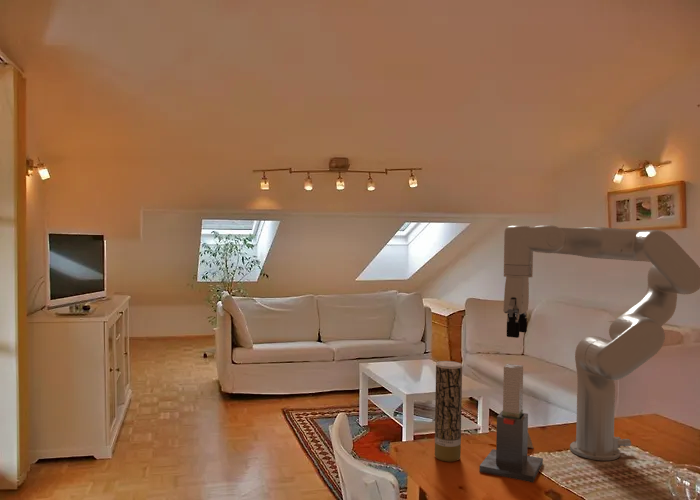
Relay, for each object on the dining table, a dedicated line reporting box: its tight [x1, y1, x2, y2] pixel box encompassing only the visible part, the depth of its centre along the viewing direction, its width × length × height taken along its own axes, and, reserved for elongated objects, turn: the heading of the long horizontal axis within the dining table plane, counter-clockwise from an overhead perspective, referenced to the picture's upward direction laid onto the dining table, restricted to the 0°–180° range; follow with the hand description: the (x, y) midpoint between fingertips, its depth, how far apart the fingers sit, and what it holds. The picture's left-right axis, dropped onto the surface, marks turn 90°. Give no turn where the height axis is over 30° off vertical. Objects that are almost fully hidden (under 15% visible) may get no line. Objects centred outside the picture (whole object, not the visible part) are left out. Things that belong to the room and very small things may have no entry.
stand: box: [479, 409, 544, 483], centre depth 148 cm, size 13×13×14 cm
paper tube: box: [434, 360, 463, 463], centre depth 154 cm, size 7×7×25 cm
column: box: [501, 363, 524, 419], centre depth 148 cm, size 4×4×18 cm
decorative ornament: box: [527, 432, 534, 449], centre depth 165 cm, size 4×8×5 cm, turn 4°
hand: (516, 334), depth 158 cm, fingers open, 9 cm apart
